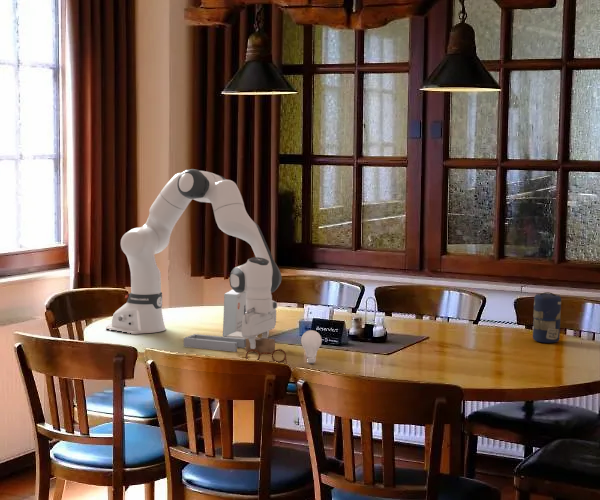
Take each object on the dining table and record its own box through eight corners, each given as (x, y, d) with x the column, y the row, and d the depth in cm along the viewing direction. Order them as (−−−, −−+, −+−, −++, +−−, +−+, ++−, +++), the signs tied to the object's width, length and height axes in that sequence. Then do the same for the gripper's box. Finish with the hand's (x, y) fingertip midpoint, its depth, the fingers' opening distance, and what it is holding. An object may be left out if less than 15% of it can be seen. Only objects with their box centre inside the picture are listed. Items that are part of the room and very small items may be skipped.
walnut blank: (245, 352, 350) (245, 339, 350) (251, 349, 354) (251, 336, 353) (269, 354, 347) (269, 341, 346) (274, 352, 350) (274, 339, 350)
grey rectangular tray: (183, 346, 357) (183, 338, 357) (194, 342, 364) (194, 334, 364) (235, 351, 349) (235, 343, 349) (245, 347, 357) (245, 338, 356)
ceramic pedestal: (227, 345, 360) (227, 335, 360) (237, 341, 367) (237, 331, 367) (247, 347, 357) (247, 337, 357) (257, 342, 364) (257, 333, 364)
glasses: (286, 363, 334) (286, 348, 333) (288, 372, 321) (288, 357, 320) (245, 363, 333) (245, 348, 332) (246, 373, 320) (246, 357, 320)
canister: (537, 338, 377) (539, 289, 375) (563, 340, 372) (564, 291, 370) (529, 342, 369) (530, 292, 367) (555, 345, 364) (556, 295, 362)
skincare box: (236, 337, 374) (236, 294, 372) (222, 336, 375) (222, 293, 374) (251, 326, 395) (251, 285, 393) (237, 326, 396) (237, 285, 394)
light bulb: (296, 363, 332) (296, 330, 330) (311, 360, 336) (311, 327, 335) (311, 367, 327) (311, 333, 326) (325, 364, 332) (326, 330, 330)
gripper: (254, 311, 338) (254, 352, 339) (279, 302, 357) (279, 341, 358) (236, 310, 340) (236, 351, 342) (263, 300, 359) (262, 339, 361)
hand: (258, 346), depth 350 cm, fingers open, 7 cm apart
